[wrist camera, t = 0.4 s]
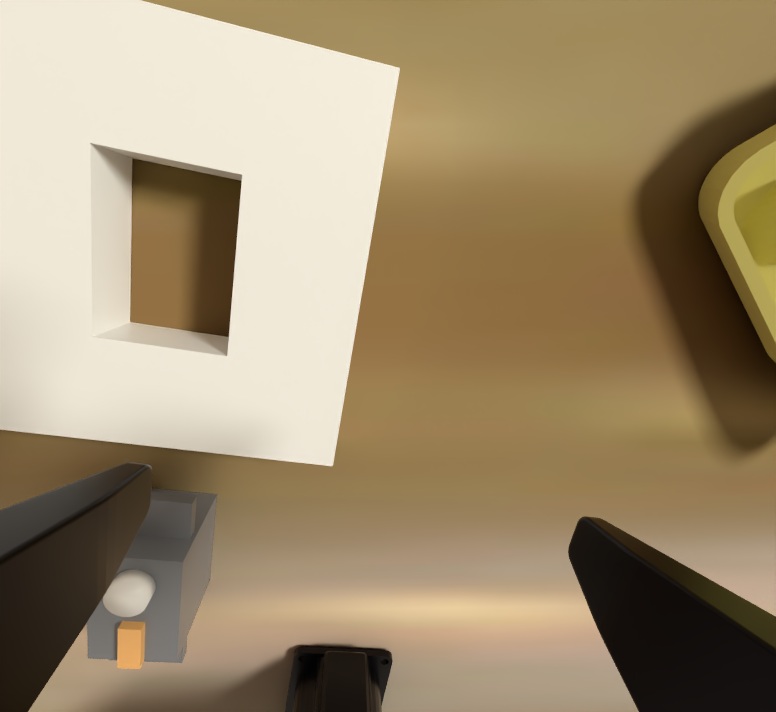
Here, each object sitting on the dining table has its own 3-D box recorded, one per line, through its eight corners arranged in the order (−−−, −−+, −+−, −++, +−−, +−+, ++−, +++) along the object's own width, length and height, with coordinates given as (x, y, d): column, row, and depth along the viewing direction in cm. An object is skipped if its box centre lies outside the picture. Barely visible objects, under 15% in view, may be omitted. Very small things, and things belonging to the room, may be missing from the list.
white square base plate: (334, 436, 22) (332, 466, 19) (15, 398, 20) (-41, 425, 17) (391, 95, 18) (400, 68, 15) (-13, -6, 15) (-94, -61, 13)
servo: (208, 603, 25) (168, 709, 19) (139, 600, 24) (77, 707, 19) (220, 462, 22) (177, 537, 17) (143, 454, 22) (72, 529, 16)
